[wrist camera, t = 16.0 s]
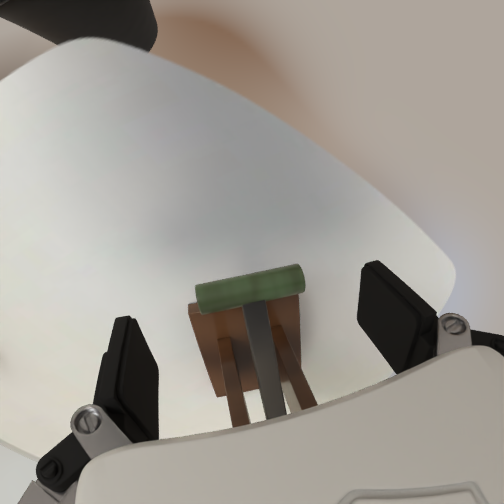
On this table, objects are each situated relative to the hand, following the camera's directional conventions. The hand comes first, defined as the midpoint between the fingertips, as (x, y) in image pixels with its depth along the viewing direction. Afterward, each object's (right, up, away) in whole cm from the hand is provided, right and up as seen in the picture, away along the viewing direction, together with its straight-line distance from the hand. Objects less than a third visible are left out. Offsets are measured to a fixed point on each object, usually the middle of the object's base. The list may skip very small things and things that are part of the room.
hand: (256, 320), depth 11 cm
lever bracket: (0, -5, +12) cm, 13 cm away
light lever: (+1, -4, +4) cm, 6 cm away
